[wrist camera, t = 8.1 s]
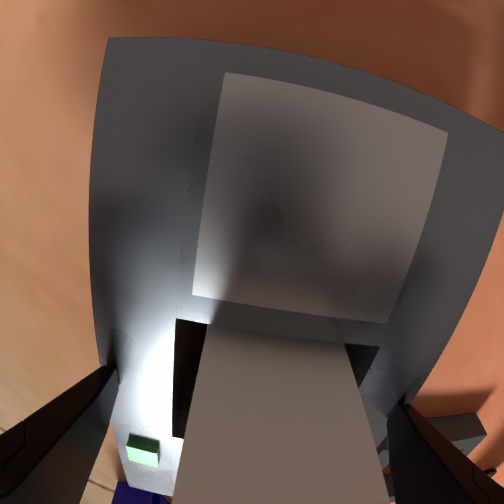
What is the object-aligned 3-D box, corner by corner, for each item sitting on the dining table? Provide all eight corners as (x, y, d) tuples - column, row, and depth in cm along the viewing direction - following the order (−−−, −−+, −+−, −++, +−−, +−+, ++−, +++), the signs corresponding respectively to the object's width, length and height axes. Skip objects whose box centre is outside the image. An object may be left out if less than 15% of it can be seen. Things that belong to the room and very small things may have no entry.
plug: (329, 298, 11) (400, 532, 4) (300, 377, 13) (321, 571, 5) (217, 279, 11) (162, 532, 3) (204, 364, 13) (169, 564, 5)
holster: (475, 412, 15) (487, 434, 13) (416, 476, 18) (422, 495, 16) (373, 421, 14) (382, 450, 13) (324, 485, 17) (326, 508, 16)
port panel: (453, 131, 9) (529, 145, 5) (315, 459, 16) (321, 514, 12) (156, 61, 8) (100, 34, 5) (143, 436, 15) (127, 492, 12)
